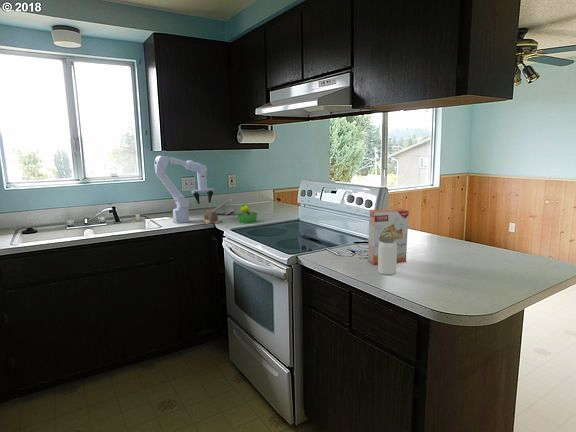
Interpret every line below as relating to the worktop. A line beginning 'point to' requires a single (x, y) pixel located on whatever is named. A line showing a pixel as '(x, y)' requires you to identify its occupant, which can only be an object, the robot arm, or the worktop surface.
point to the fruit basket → (246, 215)
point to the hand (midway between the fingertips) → (204, 203)
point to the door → (211, 215)
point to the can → (387, 256)
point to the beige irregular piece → (210, 220)
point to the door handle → (224, 207)
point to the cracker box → (388, 231)
